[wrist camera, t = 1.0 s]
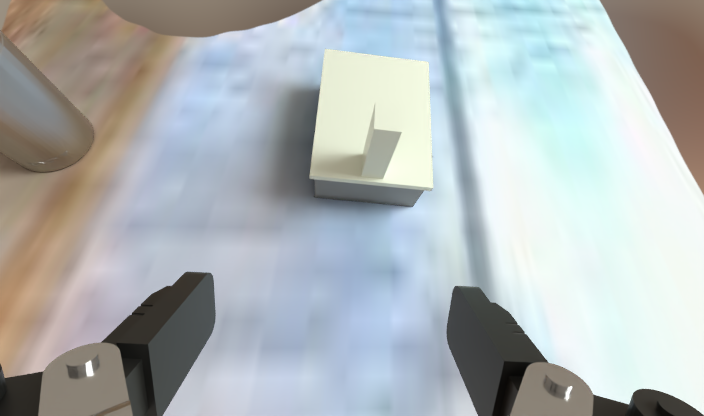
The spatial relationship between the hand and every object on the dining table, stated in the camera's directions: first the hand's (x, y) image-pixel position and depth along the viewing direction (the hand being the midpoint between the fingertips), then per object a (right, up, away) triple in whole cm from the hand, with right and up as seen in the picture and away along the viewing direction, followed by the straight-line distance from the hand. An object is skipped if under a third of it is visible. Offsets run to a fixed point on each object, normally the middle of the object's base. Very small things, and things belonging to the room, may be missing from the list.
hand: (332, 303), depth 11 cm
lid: (+3, +14, +32) cm, 35 cm away
